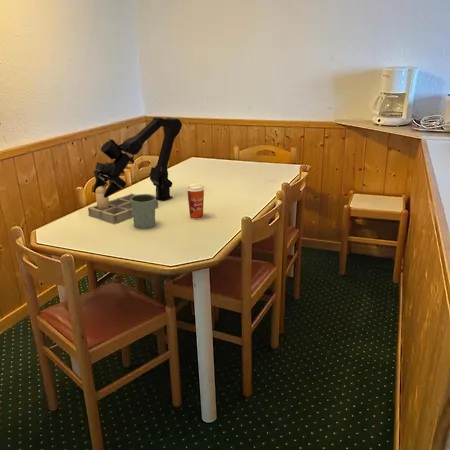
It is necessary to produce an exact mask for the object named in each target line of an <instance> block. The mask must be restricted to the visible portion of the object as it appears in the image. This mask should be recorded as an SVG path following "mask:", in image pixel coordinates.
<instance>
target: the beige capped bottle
mask: <svg viewBox="0 0 450 450" xmlns="http://www.w3.org/2000/svg"><path fill="white" fill-rule="evenodd" d="M107 188H108V187H106V186H105V185H104V186H99V187H98V188H97V189H96V191H95V192H96V193H95V200H96V205H97V209H99V210H102V211H103V210H105V209H108V208H110V206H109V201H110V198H109V197H110V196H108V197H106V198H105V197H104V194H105V192H106V190H107Z"/></svg>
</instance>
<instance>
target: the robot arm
mask: <svg viewBox="0 0 450 450" xmlns="http://www.w3.org/2000/svg"><path fill="white" fill-rule="evenodd" d="M182 126H183V124H182V122H181V119H179V118H175V117H167V118H162V117H159V116H155V117H152V119H151V121H150V122H149V123H148V124H147V125H145V126H144V127H143V128H142V129H141V130H140V131H138V133H137V134H136V135H133V136H131V137H129V138H127V139H126V140H124V141H122V143H120V144H118V143H117V142H116V141H115V139H109V140H108V141H105V143H104V144H102V145H101V148H100V151H101V153H103V154H104V155H105V156H106V157H108V158H109V159H111V160H113V161H112V162H105V163H102V162H99V161H97V162H96V166H95V170H94V172H93V175H94V177H95V178H94V179H95V182H94V187H93V190H92V192H93V193H94V194H96V192H95V191H96V189H97V188H98V187H99V186H104V187H105V185H106V184H107V182H108V184H109V185H108V186H107V187H106V188H107V190H106V192H105V194H104V197H105V198H106V197H110V196H111V195H113V194H115V193H116V192H118V191H120V190H124V189H125V188H126V186H127V182H126V181H125V180H124V179H123V178H121V177H120V176H121V175H122V174H125V169H126V168H127V166H128V165H129V163H131V164H134V163H135V160H134V156H135V155H138V154H139V152H140V151H141V150H142V149H143V145H144V144H145V143H146V141H147V140H148V139H150V138H151V137H152V136H153V135H154V134H155V133H156V132H157V131H158V130H160V128H161V127H162V128H163V134H164V136H163V140H162V144H161V147H160V151H159V154H158V159H157V163H156V165H155V166H154V167H153V166H151V169H150V173H149V174H148V175H149V180H150V181H151V183H152V184H153V186H155V197H156V200H159V201H162V202H164V201H167V200H169V199H173V196H171V188H172V187H173V182H172V181H171V180H170V179H169V171H168V164H169V162H170V158H171V157H170V156H171V154H172V151H173V150H172V149H173V146H174V143H175V139H176V137H177V136H178V135H179V134H180V132H181V129H182ZM129 155H130V156H129ZM131 155H132V156H131Z"/></svg>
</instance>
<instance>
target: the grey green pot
mask: <svg viewBox="0 0 450 450" xmlns="http://www.w3.org/2000/svg"><path fill="white" fill-rule="evenodd" d="M156 197H157V196H156V195H153V194H150V193H149V194H148V193H142V194H135V196H132V197H131V198H130V200H131V206H132V212H133V217H132V218H133V219H132V220H133V226H134V228H135V229H139V230H142V229H143V230H145V229H146V230H147V229H151V228H153V227H154V226H155V225H156V209H155V202H156V200H157V199H156Z"/></svg>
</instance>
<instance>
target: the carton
mask: <svg viewBox="0 0 450 450" xmlns="http://www.w3.org/2000/svg"><path fill="white" fill-rule="evenodd" d="M135 195H136V194H135V193H129V194H126V195H124V196H120V197H117V198H115V199H111V200H109V206H110V208H108V209H105V210H103V211H102V210H99V209H97V204H96V205H93V206H90V207H88V208H87V209H88V210H87V212H88V216H89V217H92V218H95V219H98V220H100V221H104V222H107V223H111V224H112V225H113V224H114V225H116V224H119V223H121V222H124V221H126V220H129V219H132V218H134V217H133V212H132V206H131V200H130V198H131V197H132V196H135ZM158 208H159V201H158V199H156V202H155V210H156V209H158Z"/></svg>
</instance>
